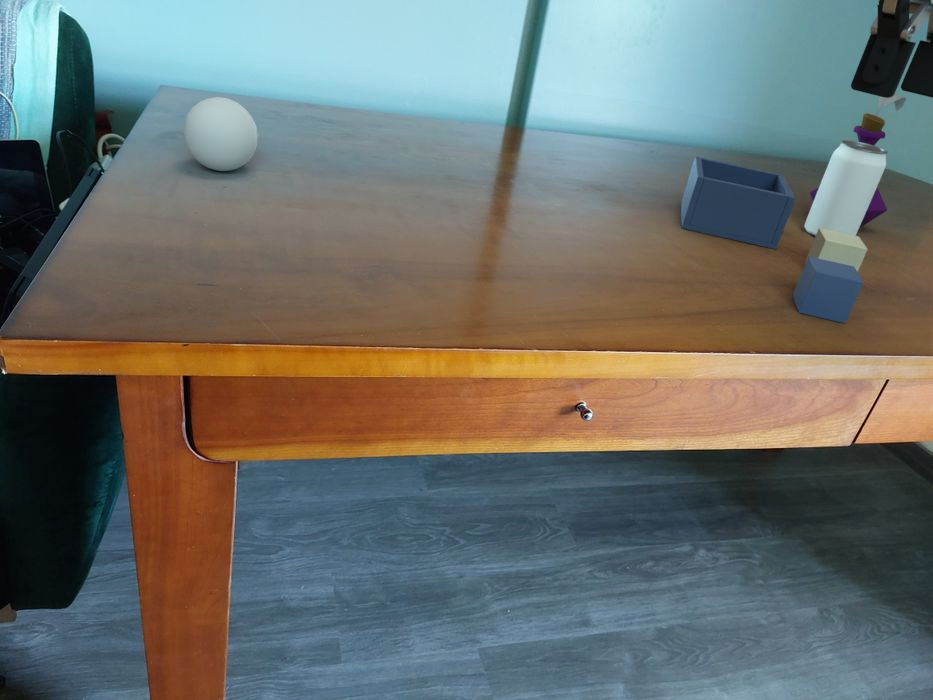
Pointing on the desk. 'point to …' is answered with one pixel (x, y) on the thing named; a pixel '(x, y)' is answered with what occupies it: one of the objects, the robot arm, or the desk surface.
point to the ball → (220, 134)
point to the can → (846, 188)
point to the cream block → (838, 248)
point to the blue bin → (736, 202)
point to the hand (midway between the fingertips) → (896, 93)
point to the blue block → (827, 289)
